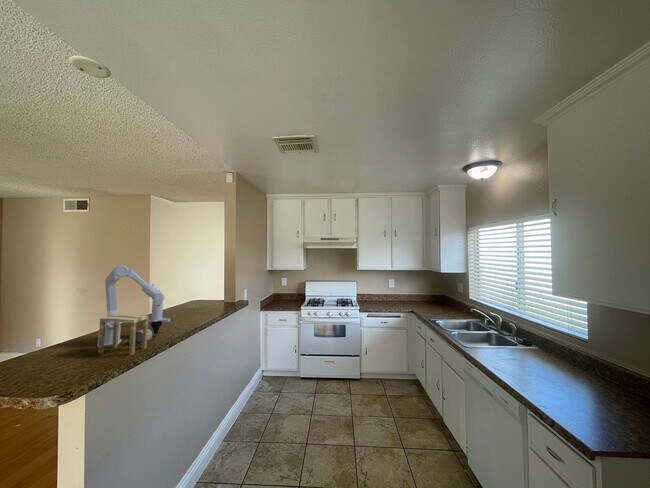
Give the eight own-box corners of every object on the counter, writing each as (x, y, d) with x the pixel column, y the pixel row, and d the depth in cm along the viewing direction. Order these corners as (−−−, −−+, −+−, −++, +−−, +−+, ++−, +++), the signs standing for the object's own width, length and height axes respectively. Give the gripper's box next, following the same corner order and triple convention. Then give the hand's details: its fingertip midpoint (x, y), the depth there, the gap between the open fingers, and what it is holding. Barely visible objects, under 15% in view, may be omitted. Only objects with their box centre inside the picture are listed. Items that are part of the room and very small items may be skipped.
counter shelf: (132, 354, 128) (134, 319, 129) (97, 353, 129) (100, 318, 130) (146, 347, 138) (148, 315, 139) (114, 346, 139) (116, 314, 140)
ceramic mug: (153, 340, 150) (153, 327, 150) (144, 345, 142) (144, 331, 142) (134, 340, 150) (135, 327, 150) (124, 345, 141) (125, 331, 142)
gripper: (140, 313, 153) (139, 336, 153) (167, 313, 156) (165, 335, 155) (146, 310, 160) (145, 332, 160) (171, 310, 163) (170, 332, 162)
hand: (155, 333), depth 158 cm, fingers closed
